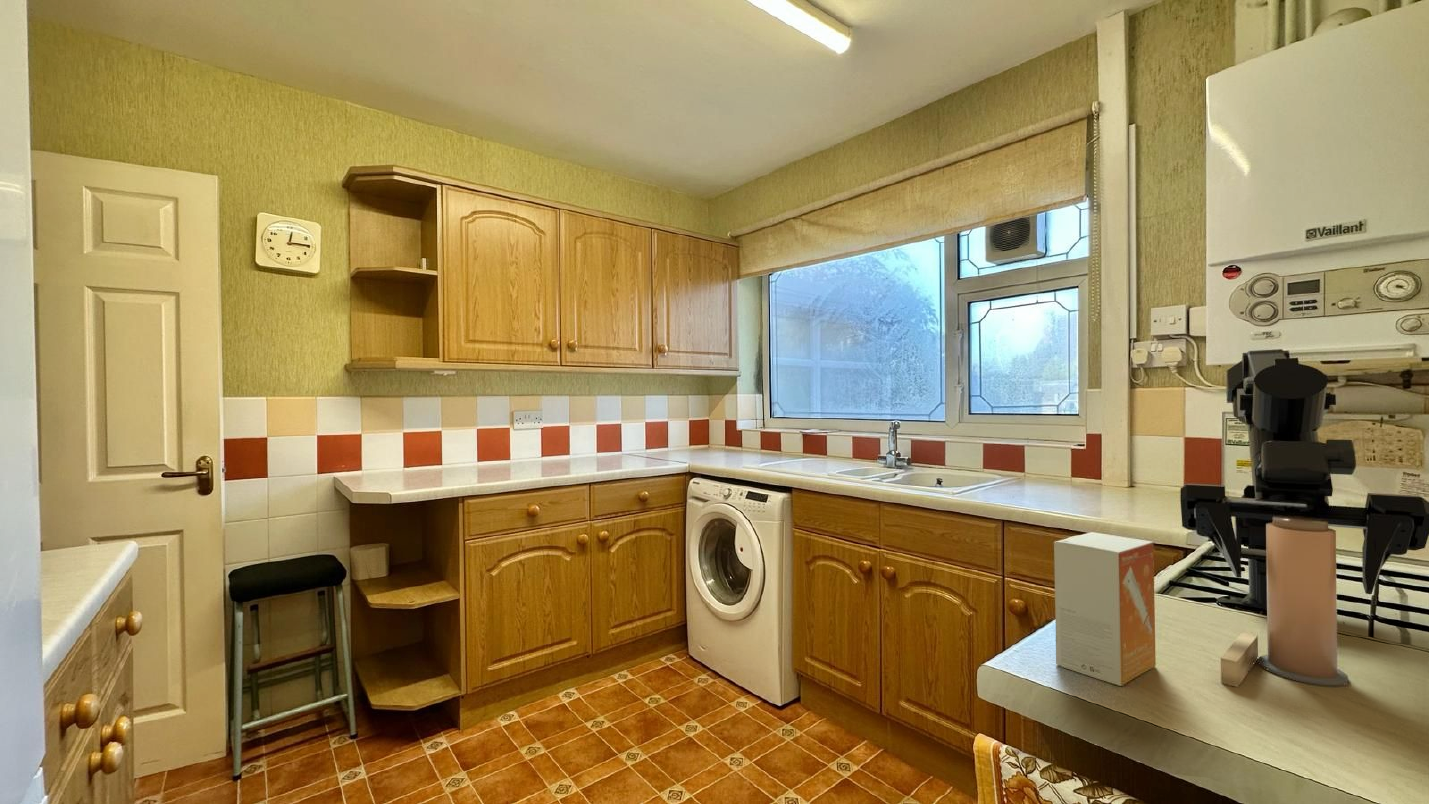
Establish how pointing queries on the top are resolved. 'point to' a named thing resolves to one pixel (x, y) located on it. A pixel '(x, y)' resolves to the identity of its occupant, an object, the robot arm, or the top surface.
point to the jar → (1302, 596)
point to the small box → (1105, 606)
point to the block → (1239, 659)
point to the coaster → (1335, 681)
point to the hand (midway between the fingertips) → (1300, 583)
